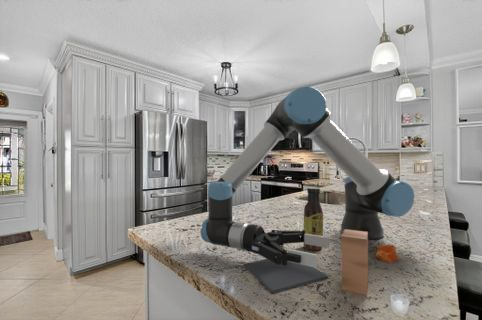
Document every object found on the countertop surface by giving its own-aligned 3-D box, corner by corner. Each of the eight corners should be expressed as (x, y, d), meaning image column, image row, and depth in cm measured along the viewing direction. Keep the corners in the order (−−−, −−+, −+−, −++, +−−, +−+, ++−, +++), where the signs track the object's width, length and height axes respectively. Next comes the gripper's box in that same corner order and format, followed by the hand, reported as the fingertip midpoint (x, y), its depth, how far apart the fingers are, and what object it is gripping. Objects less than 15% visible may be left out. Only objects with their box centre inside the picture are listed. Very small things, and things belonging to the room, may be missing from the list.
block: (345, 277, 58) (344, 229, 58) (368, 282, 55) (367, 231, 55) (341, 289, 53) (341, 235, 53) (367, 295, 50) (366, 239, 50)
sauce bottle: (314, 252, 74) (313, 189, 74) (299, 246, 79) (298, 187, 79) (327, 248, 77) (327, 188, 78) (312, 243, 83) (312, 186, 83)
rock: (358, 261, 69) (357, 246, 69) (367, 249, 78) (367, 236, 78) (407, 273, 61) (407, 257, 61) (412, 258, 70) (411, 244, 70)
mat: (290, 255, 71) (290, 253, 71) (327, 277, 58) (327, 275, 58) (243, 265, 65) (243, 263, 65) (272, 293, 51) (272, 290, 51)
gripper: (265, 238, 79) (332, 249, 68) (223, 266, 57) (310, 290, 47) (265, 215, 79) (332, 223, 68) (222, 236, 58) (309, 252, 47)
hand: (323, 250), depth 57 cm, fingers open, 13 cm apart
